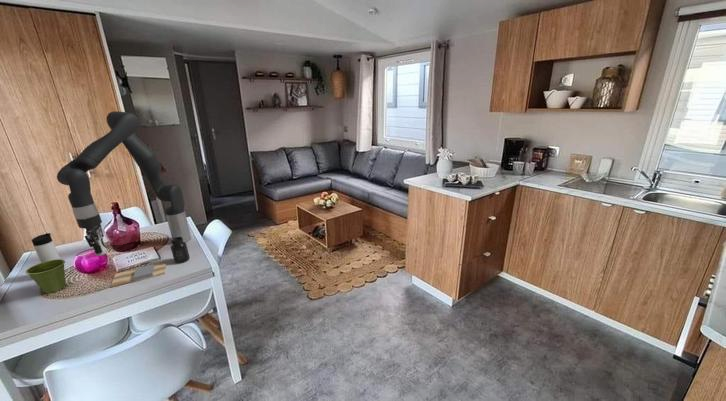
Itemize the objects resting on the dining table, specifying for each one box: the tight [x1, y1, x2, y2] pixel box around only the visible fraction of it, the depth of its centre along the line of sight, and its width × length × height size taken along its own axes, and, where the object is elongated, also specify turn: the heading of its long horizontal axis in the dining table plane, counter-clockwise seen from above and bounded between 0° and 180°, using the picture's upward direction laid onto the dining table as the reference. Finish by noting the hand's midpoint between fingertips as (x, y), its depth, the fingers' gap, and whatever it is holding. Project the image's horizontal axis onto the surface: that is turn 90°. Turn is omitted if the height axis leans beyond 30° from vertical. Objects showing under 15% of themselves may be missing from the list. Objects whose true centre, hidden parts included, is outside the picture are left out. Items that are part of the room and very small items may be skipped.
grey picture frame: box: [133, 263, 154, 281], centre depth 137 cm, size 2×7×9 cm
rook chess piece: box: [93, 237, 109, 257], centre depth 130 cm, size 4×4×8 cm
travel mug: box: [31, 232, 66, 273], centre depth 138 cm, size 6×7×20 cm
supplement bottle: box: [170, 237, 191, 264], centre depth 148 cm, size 7×7×12 cm
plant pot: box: [25, 258, 67, 294], centre depth 128 cm, size 12×12×11 cm
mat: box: [110, 261, 167, 289], centre depth 138 cm, size 12×20×1 cm, turn 120°
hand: (100, 250), depth 130 cm, fingers closed on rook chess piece, 4 cm apart
